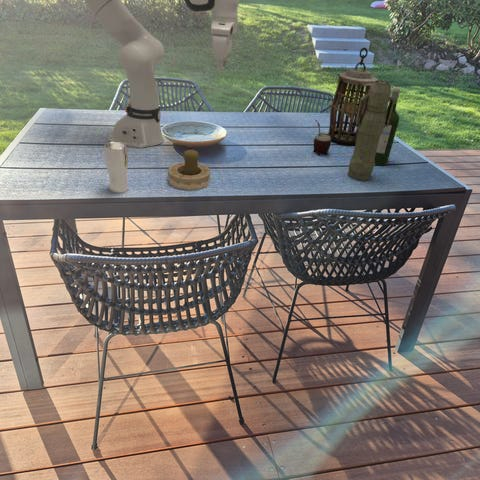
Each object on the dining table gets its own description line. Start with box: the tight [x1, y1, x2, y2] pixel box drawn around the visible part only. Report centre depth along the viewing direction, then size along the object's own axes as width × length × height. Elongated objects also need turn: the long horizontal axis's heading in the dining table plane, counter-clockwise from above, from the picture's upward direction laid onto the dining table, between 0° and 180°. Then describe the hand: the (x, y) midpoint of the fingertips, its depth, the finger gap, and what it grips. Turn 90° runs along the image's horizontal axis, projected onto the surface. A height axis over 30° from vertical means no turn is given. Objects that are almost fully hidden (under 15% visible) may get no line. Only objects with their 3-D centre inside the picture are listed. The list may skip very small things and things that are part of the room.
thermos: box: [347, 80, 395, 182], centre depth 156 cm, size 9×12×35 cm
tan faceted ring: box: [167, 161, 211, 191], centre depth 150 cm, size 14×14×4 cm
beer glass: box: [104, 141, 129, 194], centre depth 137 cm, size 7×7×15 cm
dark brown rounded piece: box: [182, 149, 200, 176], centre depth 148 cm, size 6×6×11 cm
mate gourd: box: [312, 119, 332, 157], centre depth 179 cm, size 8×8×15 cm
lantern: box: [327, 47, 379, 147], centre depth 189 cm, size 19×19×40 cm
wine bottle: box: [374, 87, 401, 166], centre depth 171 cm, size 8×8×30 cm
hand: (221, 69), depth 153 cm, fingers open, 8 cm apart
